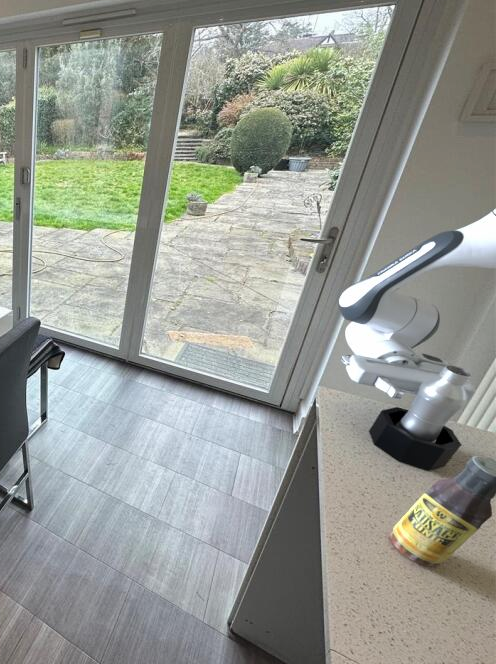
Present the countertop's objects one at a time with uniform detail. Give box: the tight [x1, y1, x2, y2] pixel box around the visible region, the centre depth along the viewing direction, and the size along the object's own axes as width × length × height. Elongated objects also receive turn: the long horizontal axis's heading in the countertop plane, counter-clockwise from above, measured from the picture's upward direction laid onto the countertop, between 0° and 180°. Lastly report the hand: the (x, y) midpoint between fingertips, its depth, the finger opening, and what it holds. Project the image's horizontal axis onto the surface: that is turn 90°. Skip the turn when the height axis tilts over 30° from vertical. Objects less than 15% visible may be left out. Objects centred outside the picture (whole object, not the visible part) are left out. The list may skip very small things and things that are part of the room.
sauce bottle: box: [389, 455, 496, 567], centre depth 61 cm, size 6×6×20 cm
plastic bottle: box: [395, 364, 473, 443], centre depth 81 cm, size 6×7×20 cm
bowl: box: [368, 406, 462, 472], centre depth 84 cm, size 11×11×6 cm
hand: (426, 401), depth 82 cm, fingers open, 8 cm apart
